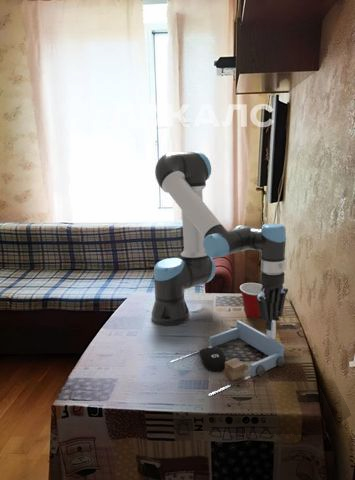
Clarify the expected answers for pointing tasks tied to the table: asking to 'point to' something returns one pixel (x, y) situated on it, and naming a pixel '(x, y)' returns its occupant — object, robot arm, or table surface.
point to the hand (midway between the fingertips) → (270, 337)
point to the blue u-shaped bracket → (256, 340)
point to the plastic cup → (251, 299)
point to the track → (223, 387)
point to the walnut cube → (234, 368)
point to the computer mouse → (213, 358)
